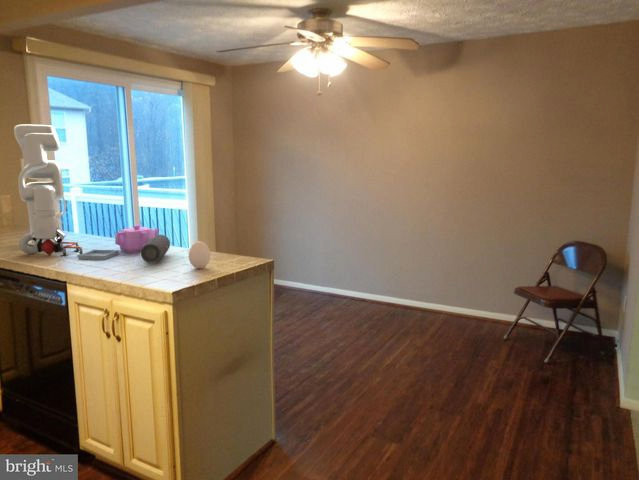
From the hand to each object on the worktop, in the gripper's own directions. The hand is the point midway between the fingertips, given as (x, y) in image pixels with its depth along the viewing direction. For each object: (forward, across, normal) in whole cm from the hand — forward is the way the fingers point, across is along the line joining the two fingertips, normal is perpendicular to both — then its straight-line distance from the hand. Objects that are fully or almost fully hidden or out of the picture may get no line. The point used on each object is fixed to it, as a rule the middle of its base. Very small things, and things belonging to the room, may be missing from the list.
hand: (49, 251), depth 213 cm
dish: (+2, +24, -1) cm, 24 cm away
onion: (+2, 0, 0) cm, 2 cm away
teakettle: (+2, +35, +16) cm, 38 cm away
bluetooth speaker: (+2, +53, -4) cm, 53 cm away
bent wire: (+2, +8, +4) cm, 9 cm away
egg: (+2, +77, -17) cm, 79 cm away
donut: (+2, -9, +1) cm, 9 cm away
